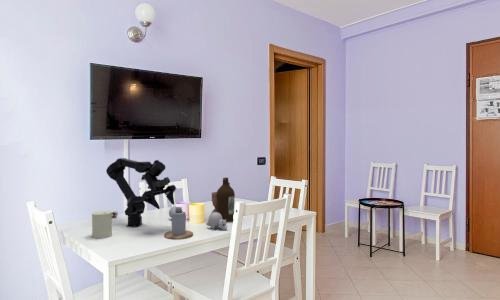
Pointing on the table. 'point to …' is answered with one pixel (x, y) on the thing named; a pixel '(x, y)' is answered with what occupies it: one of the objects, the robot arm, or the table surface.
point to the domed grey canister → (178, 222)
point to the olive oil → (225, 201)
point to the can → (101, 224)
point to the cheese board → (170, 236)
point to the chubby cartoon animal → (216, 221)
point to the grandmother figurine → (114, 213)
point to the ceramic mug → (172, 211)
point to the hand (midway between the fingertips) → (166, 206)
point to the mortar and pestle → (215, 200)
